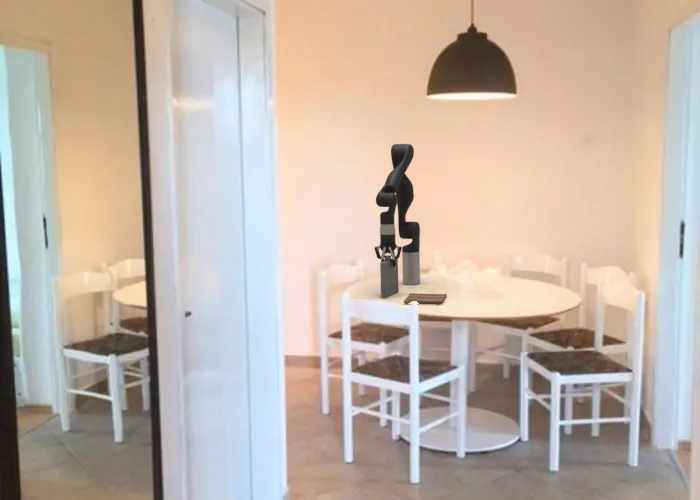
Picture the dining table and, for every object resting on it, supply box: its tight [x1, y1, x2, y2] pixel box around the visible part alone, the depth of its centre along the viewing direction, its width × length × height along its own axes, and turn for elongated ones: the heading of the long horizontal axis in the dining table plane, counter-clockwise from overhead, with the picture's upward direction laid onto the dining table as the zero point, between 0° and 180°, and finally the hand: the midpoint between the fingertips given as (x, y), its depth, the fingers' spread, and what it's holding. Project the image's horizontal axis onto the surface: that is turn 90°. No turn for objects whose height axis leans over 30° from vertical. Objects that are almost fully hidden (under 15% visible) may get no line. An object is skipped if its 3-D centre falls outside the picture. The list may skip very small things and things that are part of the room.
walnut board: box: [403, 293, 448, 305], centre depth 384 cm, size 18×18×2 cm
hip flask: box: [379, 254, 400, 299], centre depth 398 cm, size 16×4×20 cm, turn 151°
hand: (388, 266), depth 397 cm, fingers closed on hip flask, 4 cm apart
